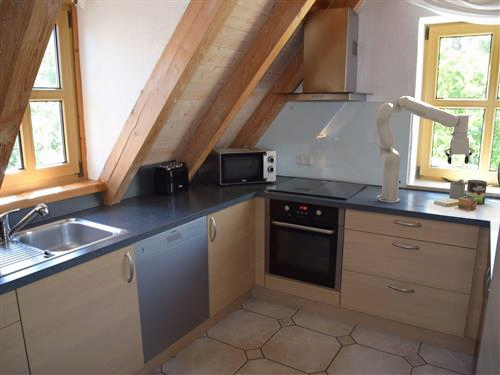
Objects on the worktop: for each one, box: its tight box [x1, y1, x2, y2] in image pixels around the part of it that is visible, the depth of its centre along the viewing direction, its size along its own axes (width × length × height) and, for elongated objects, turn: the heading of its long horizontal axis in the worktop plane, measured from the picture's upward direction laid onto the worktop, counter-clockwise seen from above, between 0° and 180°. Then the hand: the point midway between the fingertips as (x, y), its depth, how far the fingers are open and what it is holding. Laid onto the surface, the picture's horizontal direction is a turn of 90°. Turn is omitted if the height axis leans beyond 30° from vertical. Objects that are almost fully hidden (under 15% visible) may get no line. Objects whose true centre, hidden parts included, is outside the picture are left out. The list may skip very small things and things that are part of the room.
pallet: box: [454, 206, 480, 213], centre depth 243 cm, size 11×9×1 cm
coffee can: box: [465, 179, 488, 206], centre depth 256 cm, size 10×10×14 cm
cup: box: [448, 181, 466, 200], centre depth 269 cm, size 8×8×10 cm
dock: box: [433, 197, 459, 208], centre depth 254 cm, size 13×9×3 cm
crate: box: [457, 196, 478, 212], centre depth 242 cm, size 6×7×6 cm
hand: (457, 163), depth 258 cm, fingers open, 9 cm apart
